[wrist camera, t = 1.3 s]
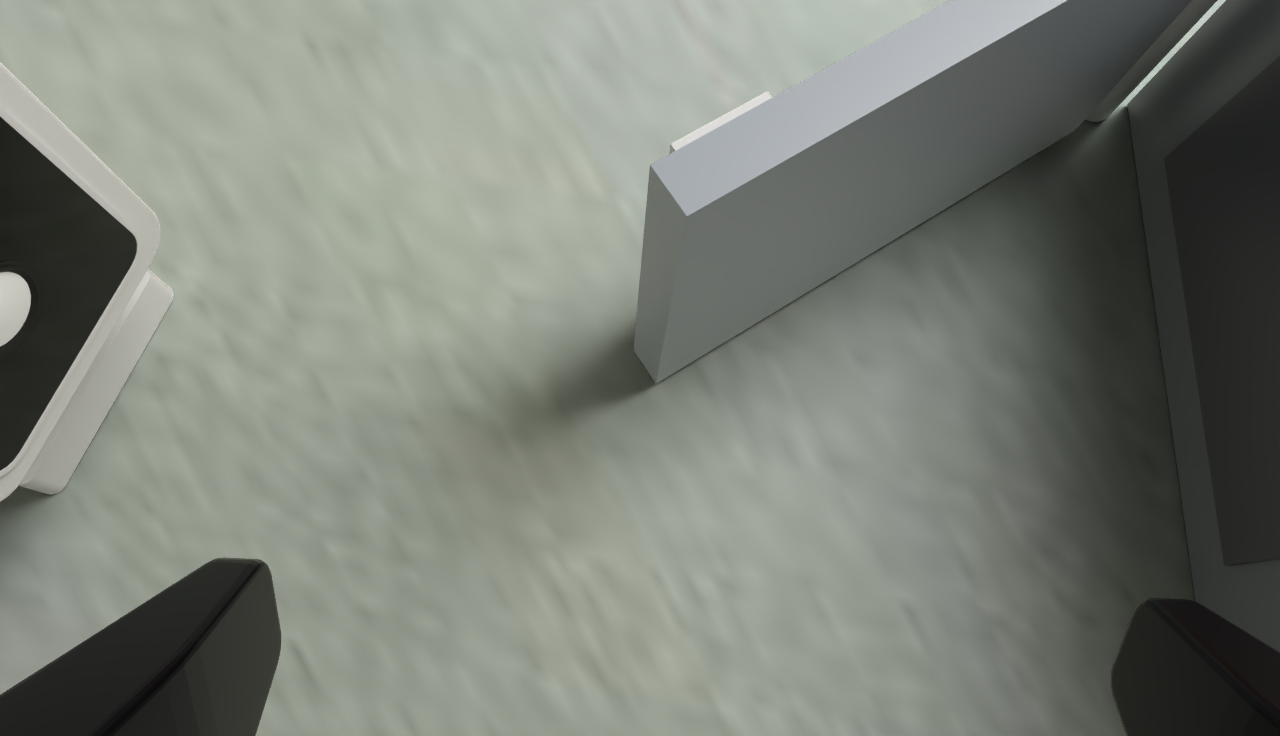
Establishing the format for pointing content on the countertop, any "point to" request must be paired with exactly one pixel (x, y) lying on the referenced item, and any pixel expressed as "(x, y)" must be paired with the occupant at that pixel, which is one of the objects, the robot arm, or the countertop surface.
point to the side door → (866, 156)
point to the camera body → (1218, 288)
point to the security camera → (65, 292)
